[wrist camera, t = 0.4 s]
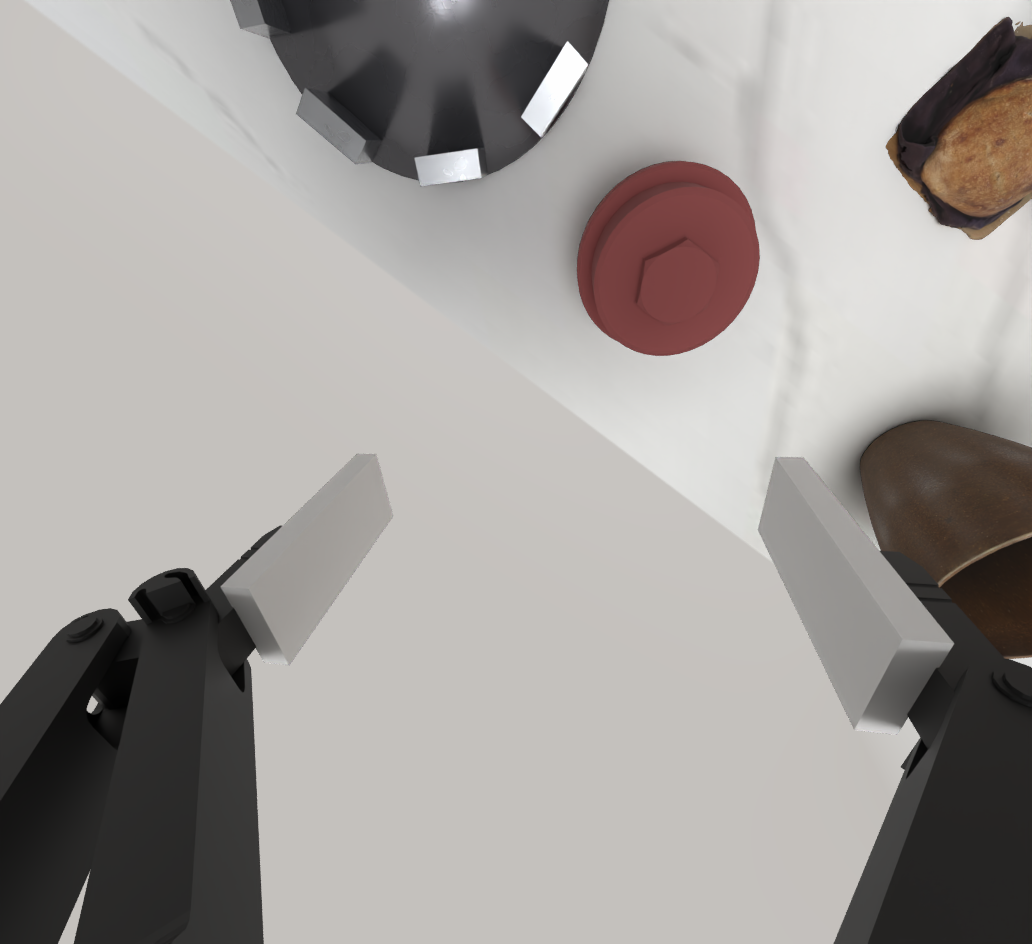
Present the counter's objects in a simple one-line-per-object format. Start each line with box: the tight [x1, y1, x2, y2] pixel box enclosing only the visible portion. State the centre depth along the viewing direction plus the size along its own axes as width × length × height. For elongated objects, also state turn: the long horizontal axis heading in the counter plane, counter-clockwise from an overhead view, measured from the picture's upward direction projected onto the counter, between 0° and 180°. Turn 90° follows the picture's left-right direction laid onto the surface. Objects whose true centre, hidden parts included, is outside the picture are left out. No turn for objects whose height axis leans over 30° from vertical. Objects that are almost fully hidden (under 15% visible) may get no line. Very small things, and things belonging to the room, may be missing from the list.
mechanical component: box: [577, 161, 760, 356], centre depth 27 cm, size 12×10×10 cm
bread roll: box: [886, 17, 1032, 240], centre depth 26 cm, size 11×8×4 cm
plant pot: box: [860, 420, 1032, 659], centre depth 34 cm, size 15×15×16 cm
